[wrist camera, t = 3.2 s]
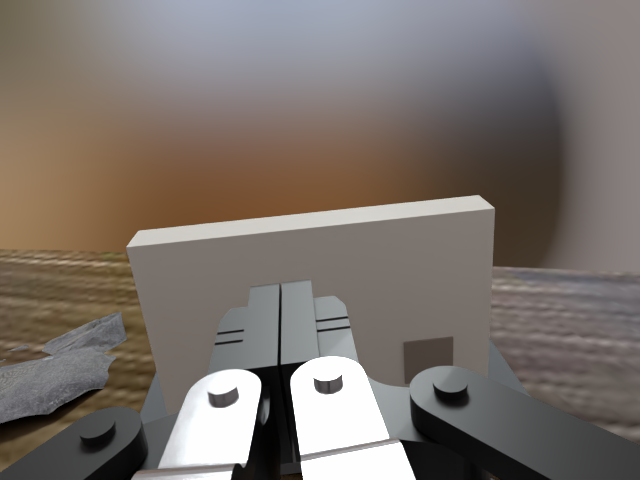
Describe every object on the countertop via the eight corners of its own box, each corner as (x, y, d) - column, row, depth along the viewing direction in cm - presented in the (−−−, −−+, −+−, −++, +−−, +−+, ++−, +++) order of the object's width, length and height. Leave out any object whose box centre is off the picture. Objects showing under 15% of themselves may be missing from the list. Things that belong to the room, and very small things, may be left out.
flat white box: (171, 432, 25) (125, 248, 22) (179, 402, 27) (139, 229, 24) (487, 395, 26) (495, 209, 22) (472, 369, 28) (477, 194, 24)
